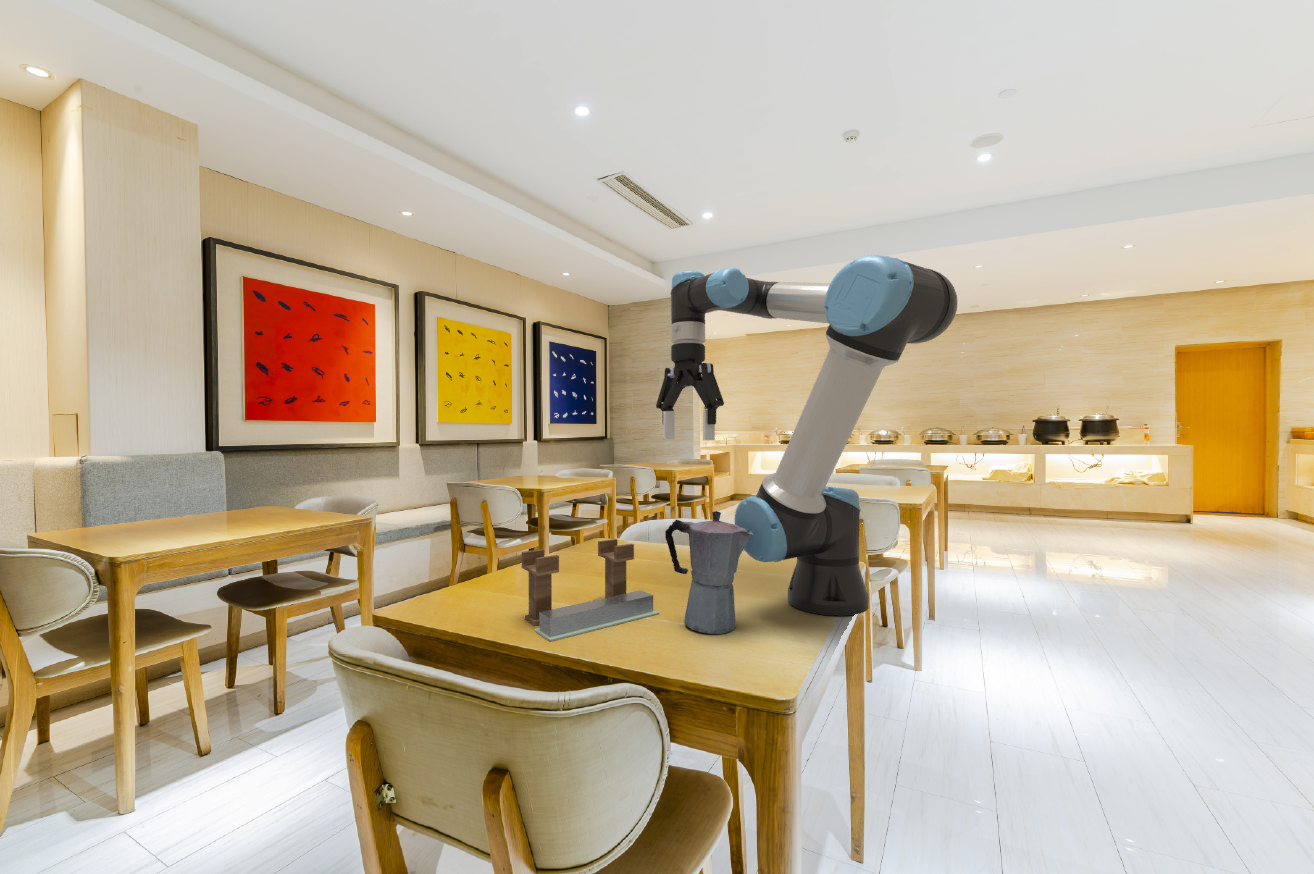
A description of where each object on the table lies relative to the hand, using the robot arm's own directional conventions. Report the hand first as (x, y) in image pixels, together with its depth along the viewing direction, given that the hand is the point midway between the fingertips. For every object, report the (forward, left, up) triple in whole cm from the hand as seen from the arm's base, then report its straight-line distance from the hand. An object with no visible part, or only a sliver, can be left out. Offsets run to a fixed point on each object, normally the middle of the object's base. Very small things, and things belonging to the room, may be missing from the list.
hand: (687, 440), depth 123 cm
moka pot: (-23, +15, -32) cm, 42 cm away
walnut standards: (-3, +29, -32) cm, 43 cm away
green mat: (-10, +29, -32) cm, 44 cm away
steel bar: (-10, +29, -31) cm, 44 cm away
